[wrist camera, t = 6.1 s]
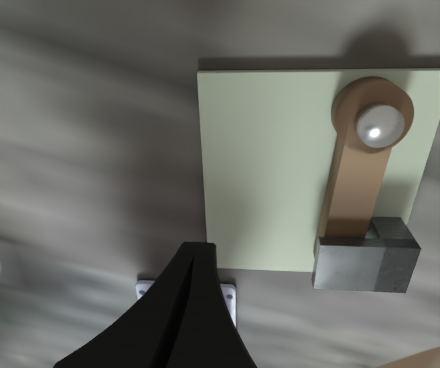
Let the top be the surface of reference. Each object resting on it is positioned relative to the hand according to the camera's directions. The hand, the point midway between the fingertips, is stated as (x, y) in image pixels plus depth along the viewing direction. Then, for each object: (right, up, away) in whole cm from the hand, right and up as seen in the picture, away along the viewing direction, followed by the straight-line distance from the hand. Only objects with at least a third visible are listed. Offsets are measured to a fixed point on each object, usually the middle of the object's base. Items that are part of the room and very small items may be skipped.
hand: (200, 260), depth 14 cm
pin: (+8, +6, +2) cm, 11 cm away
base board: (+6, +3, +7) cm, 10 cm away
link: (+9, +4, +6) cm, 11 cm away
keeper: (+10, 0, +9) cm, 13 cm away
